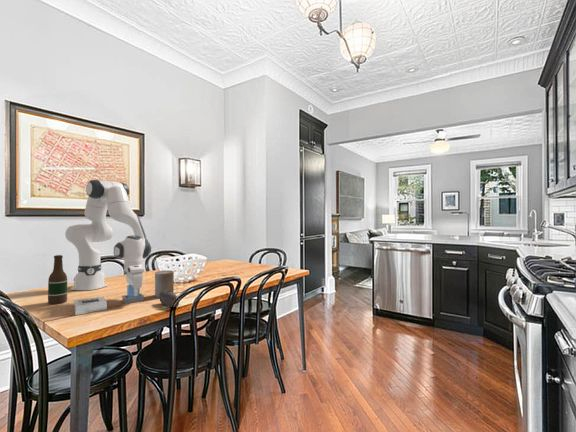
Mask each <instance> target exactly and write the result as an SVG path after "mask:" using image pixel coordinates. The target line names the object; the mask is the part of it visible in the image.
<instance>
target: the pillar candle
mask: <svg viewBox="0 0 576 432" xmlns="http://www.w3.org/2000/svg"><path fill="white" fill-rule="evenodd" d="M174 282H175V281H174V270H166V269H164V270H160V271H159V270H158V271H156V272H155V273H154V297H155V298H158V299H159V298H160V293H161V292H162V291H164V290H167V291H170V292H172V293H174V291H175V290H174V289H175V288H174V285H175V283H174Z"/></svg>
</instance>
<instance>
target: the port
mask: <svg viewBox="0 0 576 432" xmlns="http://www.w3.org/2000/svg"><path fill="white" fill-rule="evenodd" d="M107 304H108V302H107V300H106V298H105V296H97V297H92V298H91V297H89V298H84V299H83V298H81V299H75V300H73V310H74V315H75V316H80V315H85V314H90V313H93V312H99V311H100V312H101V311H107V309H108V305H107Z"/></svg>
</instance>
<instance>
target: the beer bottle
mask: <svg viewBox="0 0 576 432" xmlns="http://www.w3.org/2000/svg"><path fill="white" fill-rule="evenodd" d="M63 258H64V257H63V255H62V254H56V255H54V256H53V270H52V272H51V273H50V275H49V276H48V281H47V282H48V287H47V290H48V291H47V303H48V305H52V306H53V305H55V306H57V305H61V304H64V303H66V302H67V301H68V276H67V274H66V272H65V271H64V266H63V265H64V264H63Z"/></svg>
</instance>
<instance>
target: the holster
mask: <svg viewBox="0 0 576 432" xmlns="http://www.w3.org/2000/svg"><path fill="white" fill-rule="evenodd" d="M122 302H123V303H124V304H125V305H127V304H132V303H141V302H145V295H143V293H140V296H139V297H131V298H127V294H125V295H122Z"/></svg>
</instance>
